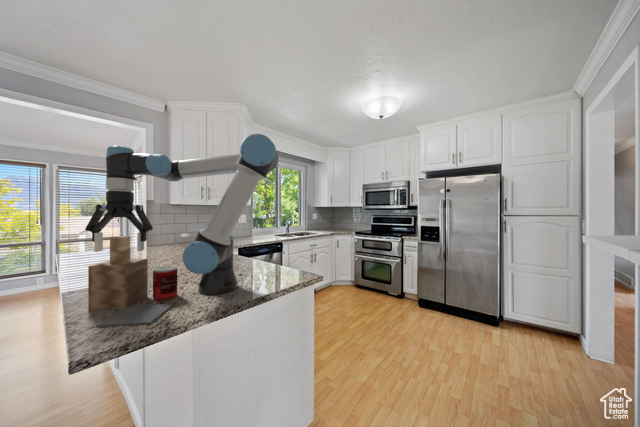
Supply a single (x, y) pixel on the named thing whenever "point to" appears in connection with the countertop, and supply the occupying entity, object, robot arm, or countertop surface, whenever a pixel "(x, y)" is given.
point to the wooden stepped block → (117, 278)
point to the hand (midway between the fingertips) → (119, 251)
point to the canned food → (164, 283)
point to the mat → (136, 315)
